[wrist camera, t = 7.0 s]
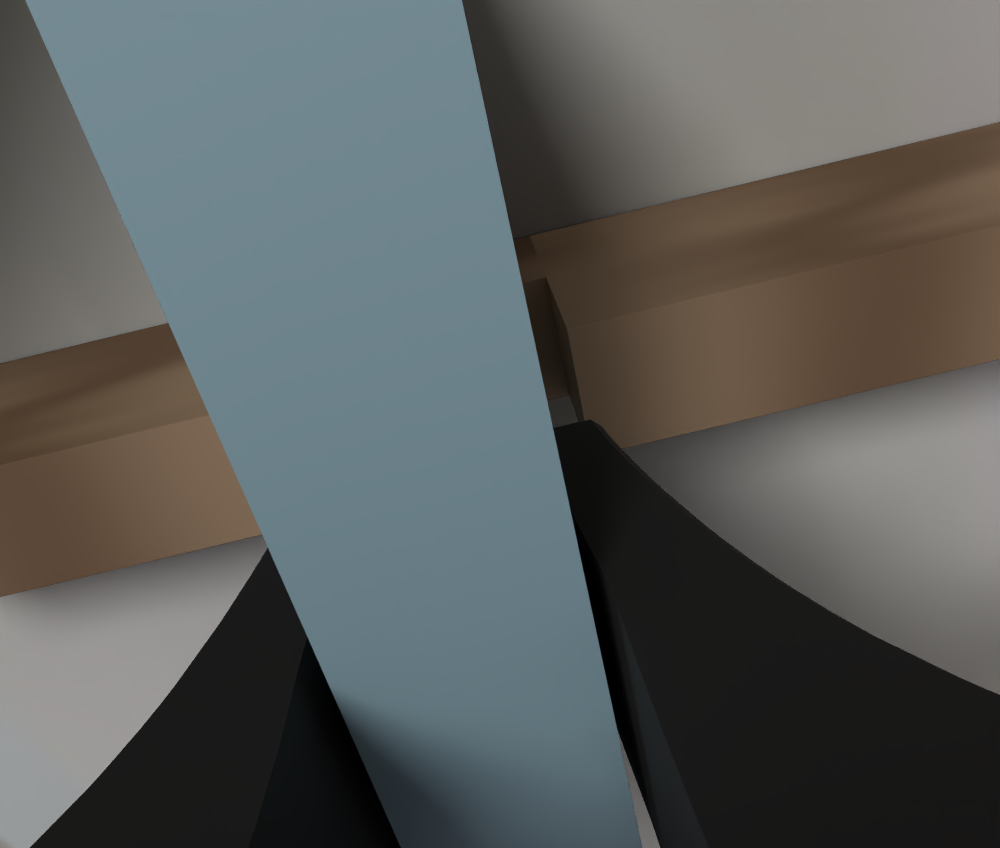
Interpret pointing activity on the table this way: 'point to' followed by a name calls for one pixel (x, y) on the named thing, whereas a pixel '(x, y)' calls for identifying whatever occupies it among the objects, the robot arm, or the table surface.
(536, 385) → the teal slotted plate
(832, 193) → the walnut slotted plate
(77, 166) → the table surface
